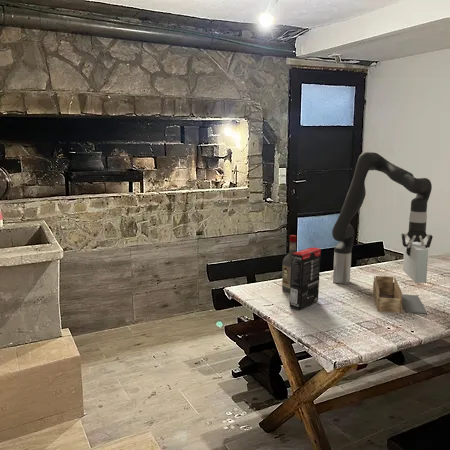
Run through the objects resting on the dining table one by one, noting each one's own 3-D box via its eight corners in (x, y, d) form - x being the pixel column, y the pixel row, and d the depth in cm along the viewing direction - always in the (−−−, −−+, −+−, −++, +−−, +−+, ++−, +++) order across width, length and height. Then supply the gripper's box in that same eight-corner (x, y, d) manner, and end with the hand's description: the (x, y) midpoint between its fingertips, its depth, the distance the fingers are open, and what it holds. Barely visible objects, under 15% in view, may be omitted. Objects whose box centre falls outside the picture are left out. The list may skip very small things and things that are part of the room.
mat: (406, 312, 209) (406, 311, 209) (398, 295, 233) (398, 294, 233) (427, 314, 207) (427, 313, 207) (417, 296, 231) (417, 295, 231)
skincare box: (427, 283, 207) (428, 249, 204) (415, 283, 208) (416, 249, 205) (413, 270, 228) (414, 239, 225) (402, 270, 228) (403, 239, 226)
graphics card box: (307, 298, 229) (309, 246, 224) (319, 301, 225) (321, 248, 220) (288, 307, 217) (290, 252, 212) (301, 311, 212) (302, 254, 207)
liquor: (292, 286, 248) (293, 233, 242) (304, 291, 240) (305, 236, 235) (279, 289, 243) (280, 235, 238) (291, 294, 235) (292, 238, 230)
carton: (377, 311, 211) (378, 291, 210) (372, 292, 237) (373, 275, 235) (401, 313, 209) (402, 293, 207) (394, 294, 235) (395, 276, 233)
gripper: (402, 221, 211) (400, 256, 214) (435, 222, 208) (433, 258, 211) (400, 218, 218) (398, 253, 221) (432, 219, 215) (430, 254, 218)
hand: (415, 255), depth 216 cm, fingers closed on skincare box, 5 cm apart
